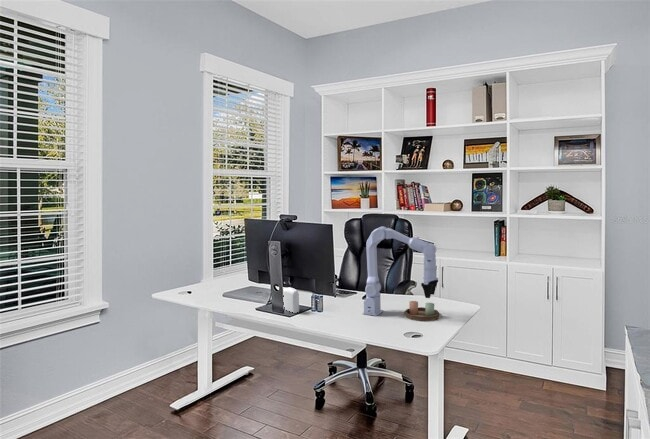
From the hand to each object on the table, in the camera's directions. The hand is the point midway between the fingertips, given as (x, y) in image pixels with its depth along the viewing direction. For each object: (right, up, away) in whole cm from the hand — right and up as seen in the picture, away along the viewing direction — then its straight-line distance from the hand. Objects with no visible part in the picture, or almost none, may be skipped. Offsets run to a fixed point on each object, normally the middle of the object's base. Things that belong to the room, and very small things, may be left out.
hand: (429, 296), depth 224 cm
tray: (-3, -10, +3) cm, 11 cm away
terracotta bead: (-7, -10, +5) cm, 13 cm away
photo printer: (-69, -11, +16) cm, 71 cm away
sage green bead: (0, -10, +1) cm, 10 cm away
